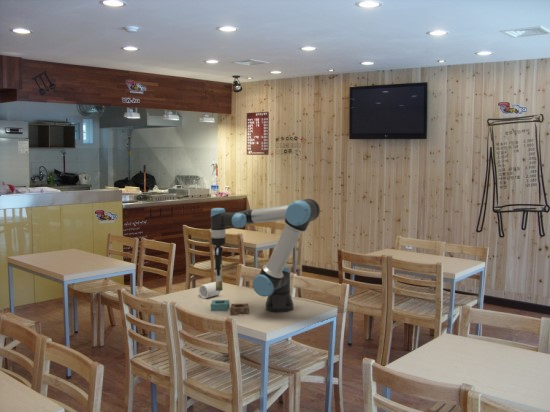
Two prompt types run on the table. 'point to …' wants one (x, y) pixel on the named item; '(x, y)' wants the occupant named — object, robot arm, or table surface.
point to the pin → (219, 282)
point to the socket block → (219, 305)
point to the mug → (208, 290)
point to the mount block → (239, 309)
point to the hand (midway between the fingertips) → (219, 280)
